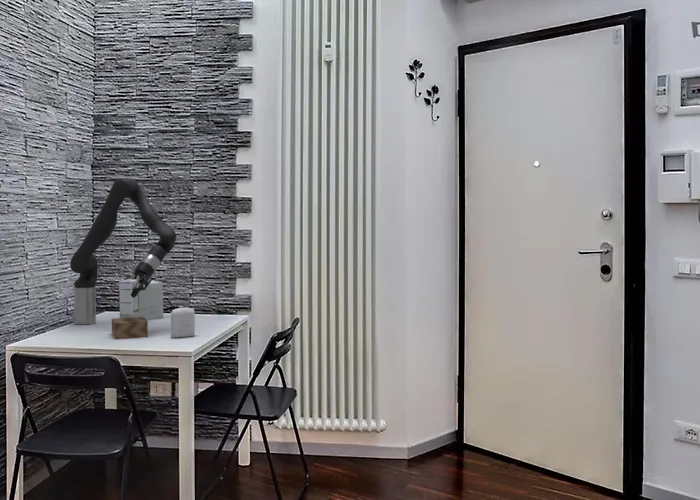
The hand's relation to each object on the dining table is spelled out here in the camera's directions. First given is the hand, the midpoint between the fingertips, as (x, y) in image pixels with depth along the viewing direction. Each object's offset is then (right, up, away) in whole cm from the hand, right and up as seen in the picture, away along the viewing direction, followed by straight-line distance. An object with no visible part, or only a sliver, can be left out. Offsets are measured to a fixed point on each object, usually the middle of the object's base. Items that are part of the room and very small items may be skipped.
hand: (126, 295), depth 286 cm
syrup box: (+1, -8, +2) cm, 8 cm away
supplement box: (-9, -15, +48) cm, 51 cm away
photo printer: (+24, -18, 0) cm, 30 cm away
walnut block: (+1, -17, +2) cm, 18 cm away
